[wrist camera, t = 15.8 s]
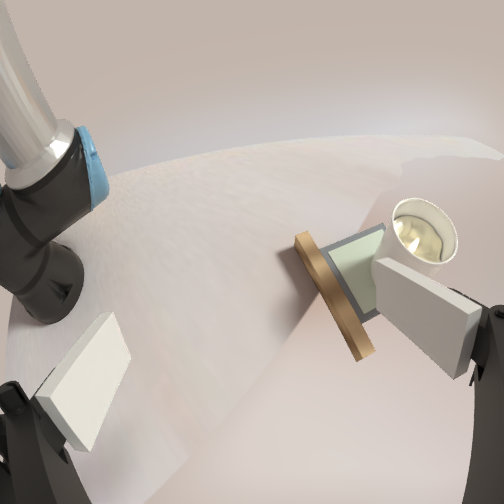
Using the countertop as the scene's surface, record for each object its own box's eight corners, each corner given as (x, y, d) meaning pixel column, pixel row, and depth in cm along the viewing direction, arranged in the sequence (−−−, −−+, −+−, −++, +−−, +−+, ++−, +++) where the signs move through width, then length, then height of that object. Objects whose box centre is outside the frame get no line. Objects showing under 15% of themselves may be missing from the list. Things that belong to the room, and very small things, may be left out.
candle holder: (423, 257, 40) (457, 213, 30) (416, 311, 36) (458, 275, 25) (371, 238, 43) (395, 187, 32) (358, 291, 38) (386, 247, 28)
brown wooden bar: (294, 246, 44) (295, 235, 41) (305, 241, 44) (307, 230, 41) (356, 362, 34) (363, 358, 31) (368, 355, 34) (375, 351, 32)
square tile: (318, 251, 43) (319, 249, 42) (381, 225, 45) (382, 222, 44) (359, 324, 37) (361, 323, 36) (423, 287, 38) (425, 285, 38)
